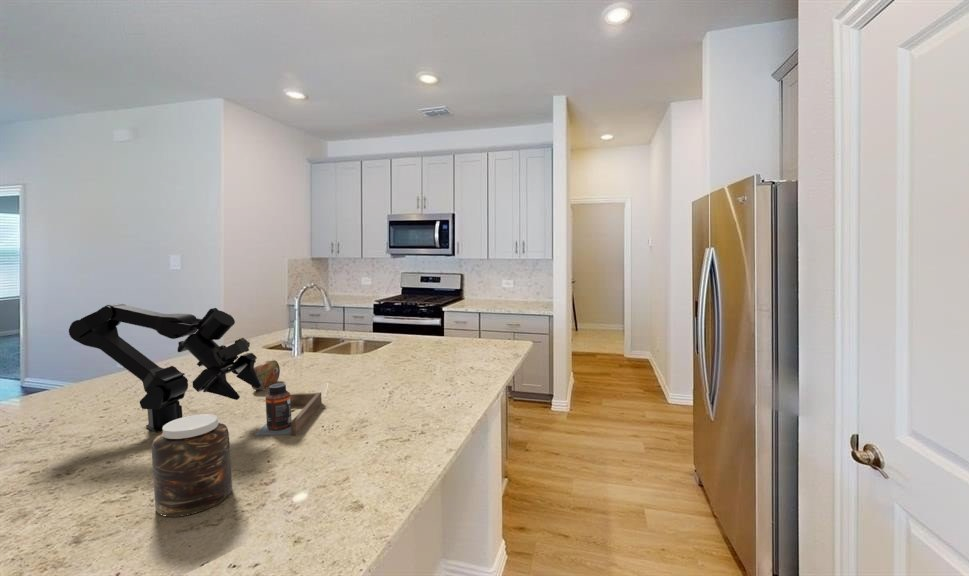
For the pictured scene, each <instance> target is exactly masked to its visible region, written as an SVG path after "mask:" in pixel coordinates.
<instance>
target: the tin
mask: <svg viewBox="0 0 969 576" xmlns="http://www.w3.org/2000/svg"><path fill="white" fill-rule="evenodd" d="M280 369H281V368H280V365H279V362H277V360H276V359H275V360H274V359H273V360H266V361H264V362H262V363H260V364H259V365H256V366H254V371H255V373H256V376H257V378H258V380H259V382H260V384H261V387H260V388H256V387H254V386H252V385H250V386H251V389H253V390H255V391H264V390H266V389H269V386H271V385H273V384H277V381H278V380H279V378H280V373H281V370H280Z"/></svg>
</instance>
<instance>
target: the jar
mask: <svg viewBox="0 0 969 576" xmlns="http://www.w3.org/2000/svg"><path fill="white" fill-rule="evenodd" d="M151 459H152V464H151V465H152V479H153V481H152V482H153V493H154V494H153V495H154V505H155V506H154V507H155V511H157V512H158V513H159V514H162V515H166V516H180V517H182V516H181V515H186V516H188V515H187V514H191V515H193V514H192V513H195V512H198V513H200V512H199V511H201V512H203V511H202V510H204V511H206V510H205V509H207V510H209V509H211V508H213V507H216V506H217V505H219V504H221V503H222V502H224V501H225V500H226V499H227V498H228V497H230V496H231V494H232V491H233V480H232V479H233V477H232V461H231V460H232V459H231V445H230V434H229V428H228V427H227V425H226V424H224V423H221V422H219V421H218V416H217V415H215V414H210V413H204V414H203V413H202V414H201V413H200V414H191V415H188V416H184V417H183V416H182V418H179V419H176V420H173V421H170V422H168V423H167V424H165V425H164V426H163V430H162V433H161V434H159V435H158V436H156V437H155V438H154V439H153V441H152V446H151ZM223 500H224V501H223ZM220 502H221V503H220ZM218 503H219V504H218ZM216 504H217V505H216ZM210 507H211V508H210ZM208 508H209V509H208ZM157 512H156V513H157ZM158 513H157V514H158ZM159 514H158V515H159ZM195 514H196V513H195ZM162 515H161V516H162ZM166 516H165V517H166Z"/></svg>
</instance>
